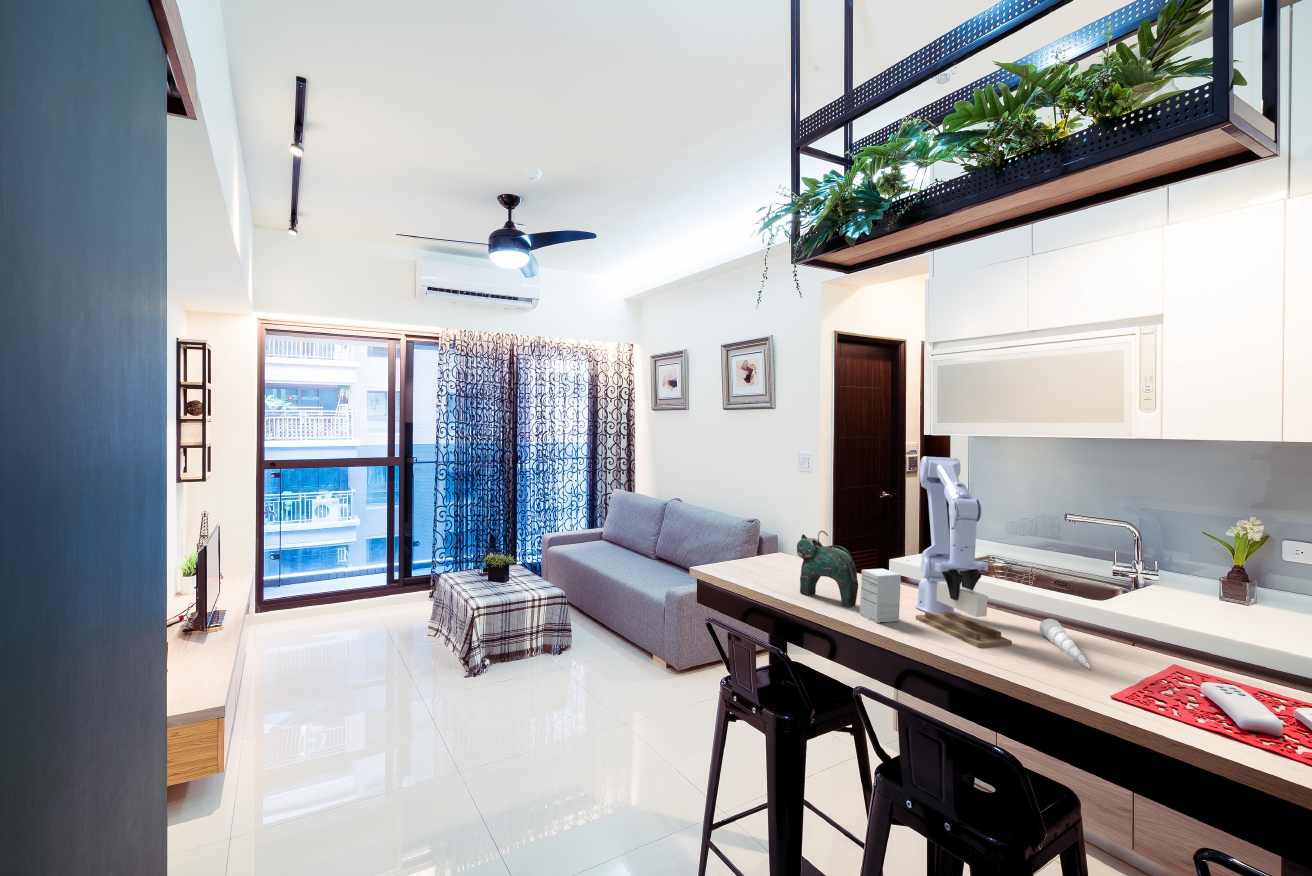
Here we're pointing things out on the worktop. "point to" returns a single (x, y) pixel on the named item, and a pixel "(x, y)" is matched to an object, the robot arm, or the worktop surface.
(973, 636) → the railed tan base plate
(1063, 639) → the unicorn horn
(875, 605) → the supplement box
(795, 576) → the worktop surface
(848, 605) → the ceramic cat
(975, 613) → the white rectangular block
